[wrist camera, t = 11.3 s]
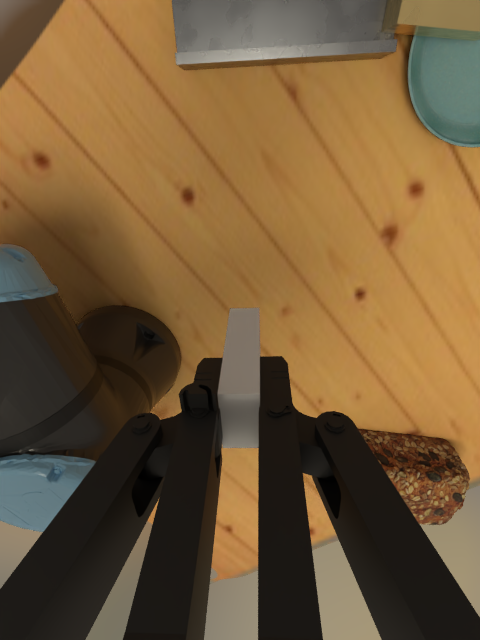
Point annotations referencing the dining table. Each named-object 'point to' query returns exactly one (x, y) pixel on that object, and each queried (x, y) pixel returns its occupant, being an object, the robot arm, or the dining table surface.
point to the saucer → (446, 87)
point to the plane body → (278, 32)
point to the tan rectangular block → (434, 18)
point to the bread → (422, 473)
